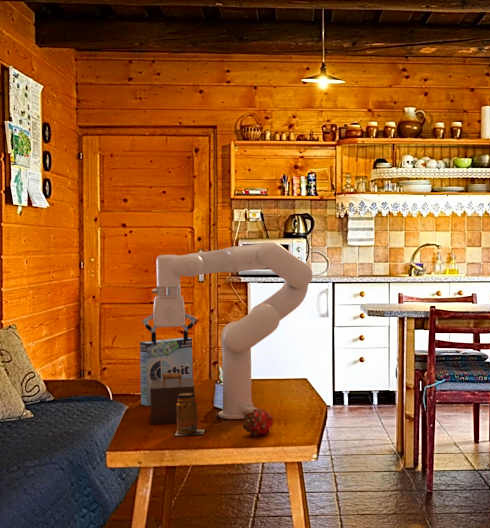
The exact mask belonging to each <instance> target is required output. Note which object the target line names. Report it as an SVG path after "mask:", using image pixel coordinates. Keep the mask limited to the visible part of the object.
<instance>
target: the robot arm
mask: <svg viewBox="0 0 490 528" xmlns="http://www.w3.org/2000/svg"><path fill="white" fill-rule="evenodd" d="M155 263H156V288H153V289H152V294H156V296H155V297H154V299H153V313H152V314H151V315H148V316H146V317H145V318H143V319H141V320H142V321H141V322H142V323H143V325H144V327H145V329H147V330H148V331H149V332H150V336H151V337H150V339H151V340H150V341H152V342H154V345H156V341H157V332H156V330H157V329H158V328H176V327H177V328H178V327H181V328H182V329H183V334H182V335H183V337H184V344H186V341H188V338H189V331H190V330H191V329H192V328H193V327H194V325H195V323H196V321H197V317H196V316H193V315H191V314H189V313H187V312H186V308H185V300H184V296H183V295H181V277H182V276H183V277H190V278H191V277H197V276H199V275H207V274H216V273H240V272H246V271H253V270H261V269H268V270H270V271H271V272H273V274H275V275H277V276H278V277H280V278H281V279H283V280H284V282H283V284H282V287H280V289H278V290H277V291H276V292H275V293H273V294H272V295H270V296H269V297H268V298H266V299H264V300H263V301H262V302H260V303H259V304H256V305H255V306H253V307H252V309H251V310H250V312H249V313H248V314H247V315H245V316H244V317H242V318H241V319H239V320H238V321H236V320H235V321H231V322H229V323H227V324H226V325H225V326H224V327H223V329H222V331H221V334H220V335H221V337H220V340H221V342H220V343H221V359H222V360H221V362H222V363H221V364H222V366H221V368H222V369H221V370H222V375H221V376H222V410H221V411H219V412H218V414H217V415H218V417H219V418H221V419H225V420H242V419H243V420H245V418H244V416H245V415H246V414H249V413H250V412H252V411H254V410H258V407H255V406H254V402H252V401H253V400H252V352H251V351H252V350H251V348H253V347H255V346H256V345H257V344H259V343H260V342H262V341H263V340H264V339H266V338H267V337H268V336H270V335H271V334H272V333H274V332H275V331H276V330H277V329H278V327H279V325H280V321H282V320H284V318H286V317H287V316H288V315H289V314H291V313H292V312H294V311H295V310H296V309H297V308H298V307H300V305H301V304H302V303H303V302H304V300H305V298H306V296H307V292H308V290H309V285H310V284H311V283H312V280H313V270H312V268H311V267H310V266H309V264H308V263H306V262H304V260H302V259H301V258H299V257H297V256H296V255H294V254H293V253H291V252H290V251H288V250H287V249H286V248H285V247H283V245H281V244H279V243H277V242H274V241H273V242H271V241H268V242H261V243H253V244H245V245H237V246H236V245H235V246H230V247H229V246H228V247H226V248H222V249H216V250H210V251H200V252H192V253H188V254H181V255H177V254H159V255H158V256H157V257H156V262H155ZM186 318H187V319H188V320H190V322H189V324H188V325H186ZM151 320H152V322H153V326H151V325H150V324H149V321H151Z"/></svg>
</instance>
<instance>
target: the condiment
mask: <svg viewBox="0 0 490 528" xmlns="http://www.w3.org/2000/svg"><path fill="white" fill-rule="evenodd" d="M177 397H178V400H177V401H178V403H177V406H176V408H177V423H176V432H175V434H174V436H181V437H182V436H197V435H204V433H205V431H206V429H203V428H201V429H198V414H197V412H198V409H197V407H198V406H197V405H198V404H197V402H196V394H195V392H194V393H181V394H178V396H177Z"/></svg>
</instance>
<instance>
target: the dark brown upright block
mask: <svg viewBox="0 0 490 528" xmlns="http://www.w3.org/2000/svg"><path fill="white" fill-rule="evenodd" d="M181 389H194V390H195V382H194V378H186V379H182V372H179V373H163V380H152V381H151V388H150V391H161V390H181Z"/></svg>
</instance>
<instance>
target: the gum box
mask: <svg viewBox="0 0 490 528" xmlns="http://www.w3.org/2000/svg"><path fill="white" fill-rule="evenodd" d="M139 350H140V351H139V357H140V364H139V365H140V404H141V405H142V406H145V407H151V392H150V388H151V381H152V380H163V373H179V372H182V379H186V378H193V338H192V337H188V341H186V344H184V336H183V337H176V338H165V339H156V345H154V342H152V340H149V341H140V342H139ZM193 379H194V378H193Z"/></svg>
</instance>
